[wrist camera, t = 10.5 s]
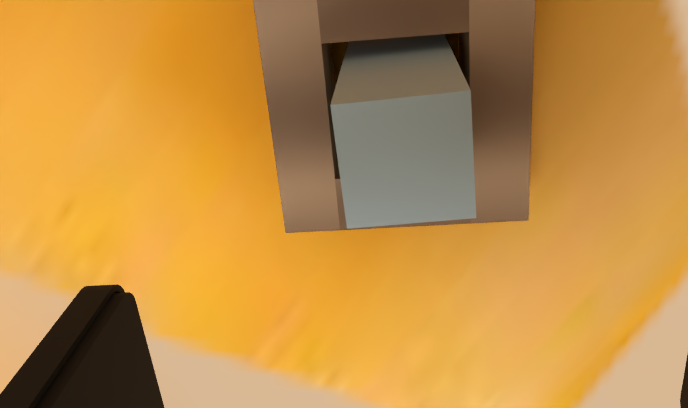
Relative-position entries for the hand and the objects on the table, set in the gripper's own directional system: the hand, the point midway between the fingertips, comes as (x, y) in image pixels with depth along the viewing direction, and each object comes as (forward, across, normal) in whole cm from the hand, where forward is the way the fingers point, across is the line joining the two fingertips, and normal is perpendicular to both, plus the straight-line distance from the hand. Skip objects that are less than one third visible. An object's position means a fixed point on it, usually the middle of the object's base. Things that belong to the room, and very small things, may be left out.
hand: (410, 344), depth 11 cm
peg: (+19, 0, +1) cm, 19 cm away
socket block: (+19, 0, +1) cm, 19 cm away
